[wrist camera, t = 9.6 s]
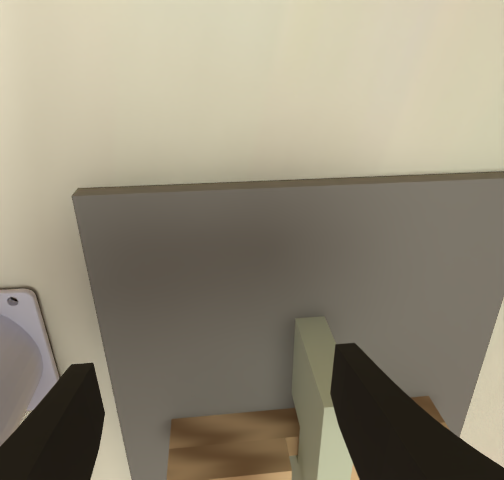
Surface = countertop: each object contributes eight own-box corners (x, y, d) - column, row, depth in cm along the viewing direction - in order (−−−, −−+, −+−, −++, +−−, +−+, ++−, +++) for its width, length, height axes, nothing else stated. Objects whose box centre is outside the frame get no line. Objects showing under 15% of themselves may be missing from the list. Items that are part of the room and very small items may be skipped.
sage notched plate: (309, 481, 29) (334, 583, 23) (287, 483, 29) (306, 586, 23) (324, 316, 22) (362, 404, 17) (295, 318, 22) (324, 407, 17)
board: (140, 499, 29) (139, 513, 28) (78, 188, 19) (71, 196, 18) (438, 467, 31) (445, 480, 30) (527, 170, 21) (541, 176, 20)
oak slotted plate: (173, 437, 25) (169, 503, 22) (171, 418, 25) (166, 484, 21) (424, 413, 27) (457, 472, 23) (428, 395, 26) (464, 452, 23)
